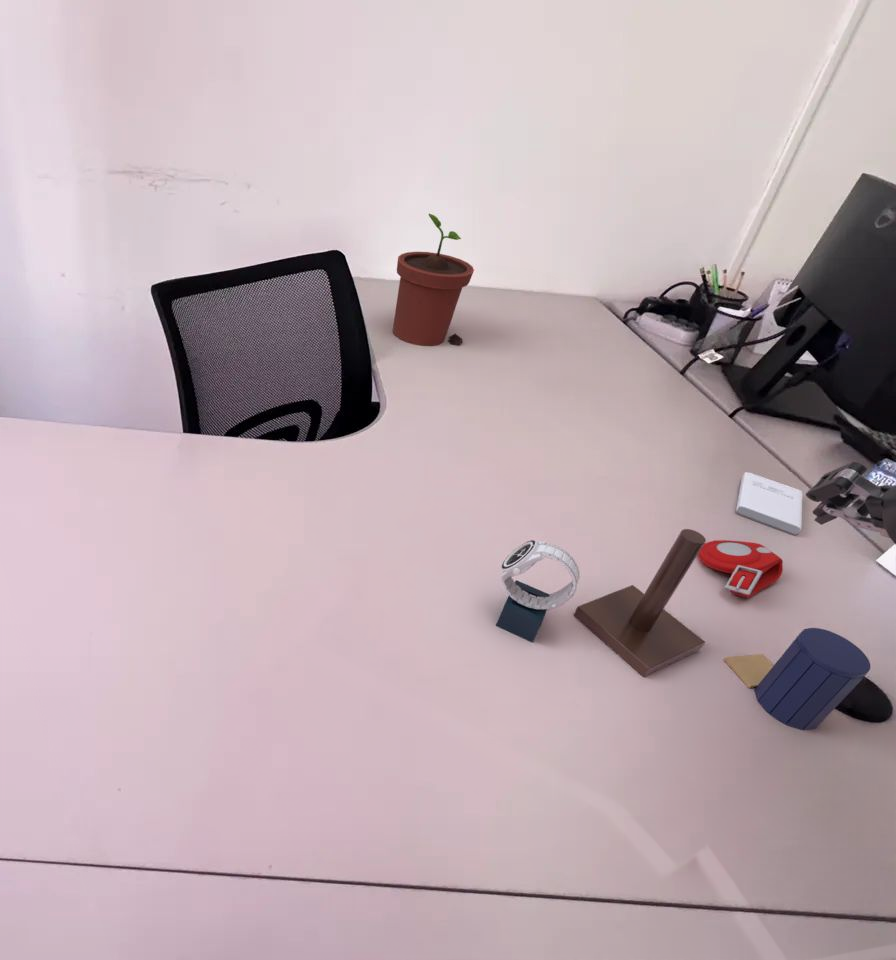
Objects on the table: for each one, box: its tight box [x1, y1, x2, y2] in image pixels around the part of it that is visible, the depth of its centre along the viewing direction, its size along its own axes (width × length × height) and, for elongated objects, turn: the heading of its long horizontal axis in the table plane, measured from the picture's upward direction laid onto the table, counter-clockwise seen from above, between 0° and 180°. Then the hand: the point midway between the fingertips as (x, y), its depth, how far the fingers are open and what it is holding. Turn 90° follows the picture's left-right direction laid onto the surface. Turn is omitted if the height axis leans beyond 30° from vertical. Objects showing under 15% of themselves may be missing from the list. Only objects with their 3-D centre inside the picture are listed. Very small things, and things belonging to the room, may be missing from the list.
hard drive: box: [735, 471, 803, 536], centre depth 105 cm, size 2×8×12 cm
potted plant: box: [392, 213, 475, 347], centre depth 144 cm, size 18×22×25 cm
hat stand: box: [573, 528, 707, 678], centre depth 76 cm, size 10×10×15 cm
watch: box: [495, 539, 580, 643], centre depth 77 cm, size 6×8×11 cm
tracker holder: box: [697, 539, 784, 599], centre depth 89 cm, size 12×4×10 cm
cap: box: [723, 627, 871, 731], centre depth 72 cm, size 10×6×9 cm, turn 10°
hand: (869, 544), depth 63 cm, fingers open, 8 cm apart
